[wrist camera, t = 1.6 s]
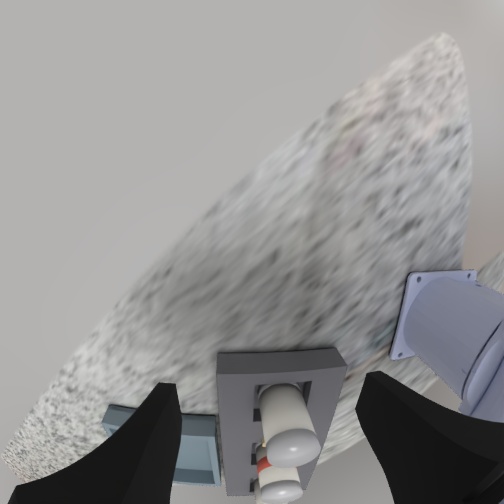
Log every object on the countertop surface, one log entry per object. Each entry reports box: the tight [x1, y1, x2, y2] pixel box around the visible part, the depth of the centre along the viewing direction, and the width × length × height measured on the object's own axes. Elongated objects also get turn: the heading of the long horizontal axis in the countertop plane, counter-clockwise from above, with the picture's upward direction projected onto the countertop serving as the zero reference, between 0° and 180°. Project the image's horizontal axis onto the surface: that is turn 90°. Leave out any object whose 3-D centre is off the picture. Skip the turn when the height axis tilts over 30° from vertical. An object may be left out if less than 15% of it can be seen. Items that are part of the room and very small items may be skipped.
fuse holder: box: [216, 348, 347, 496], centre depth 20 cm, size 9×20×3 cm, turn 179°
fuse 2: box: [257, 382, 321, 468], centre depth 16 cm, size 3×3×6 cm
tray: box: [101, 405, 221, 486], centre depth 20 cm, size 10×10×2 cm
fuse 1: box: [253, 478, 288, 504], centre depth 19 cm, size 3×3×6 cm
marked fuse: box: [255, 443, 303, 504], centre depth 17 cm, size 3×3×6 cm
